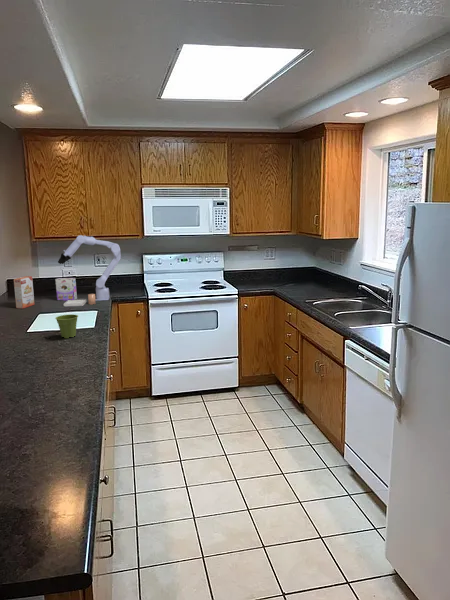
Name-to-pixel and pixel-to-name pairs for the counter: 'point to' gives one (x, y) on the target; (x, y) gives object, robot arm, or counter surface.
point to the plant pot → (67, 325)
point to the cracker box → (24, 292)
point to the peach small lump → (91, 299)
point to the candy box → (66, 289)
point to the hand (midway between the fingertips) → (60, 263)
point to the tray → (74, 303)
